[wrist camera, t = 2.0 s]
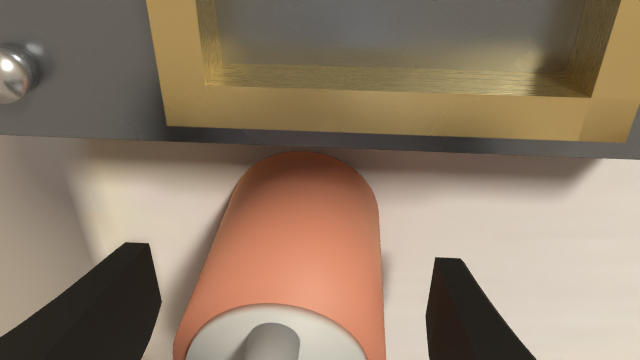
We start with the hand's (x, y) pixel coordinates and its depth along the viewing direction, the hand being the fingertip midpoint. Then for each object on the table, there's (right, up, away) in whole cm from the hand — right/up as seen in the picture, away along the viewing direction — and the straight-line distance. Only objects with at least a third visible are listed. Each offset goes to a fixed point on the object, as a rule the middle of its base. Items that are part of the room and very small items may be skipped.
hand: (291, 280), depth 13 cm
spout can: (0, +1, +3) cm, 3 cm away
